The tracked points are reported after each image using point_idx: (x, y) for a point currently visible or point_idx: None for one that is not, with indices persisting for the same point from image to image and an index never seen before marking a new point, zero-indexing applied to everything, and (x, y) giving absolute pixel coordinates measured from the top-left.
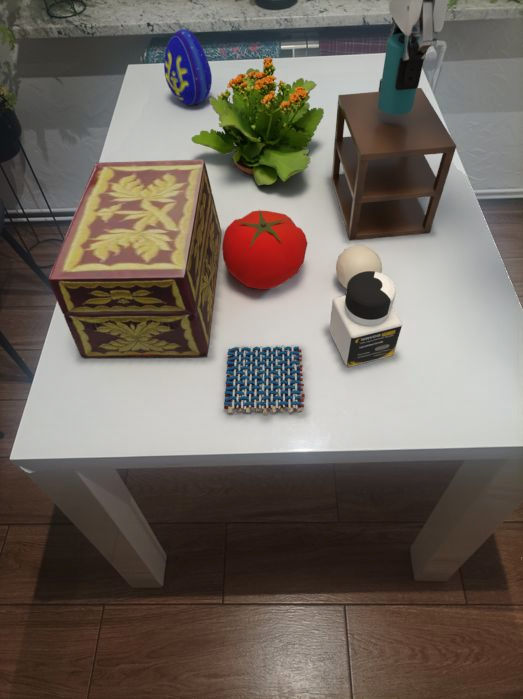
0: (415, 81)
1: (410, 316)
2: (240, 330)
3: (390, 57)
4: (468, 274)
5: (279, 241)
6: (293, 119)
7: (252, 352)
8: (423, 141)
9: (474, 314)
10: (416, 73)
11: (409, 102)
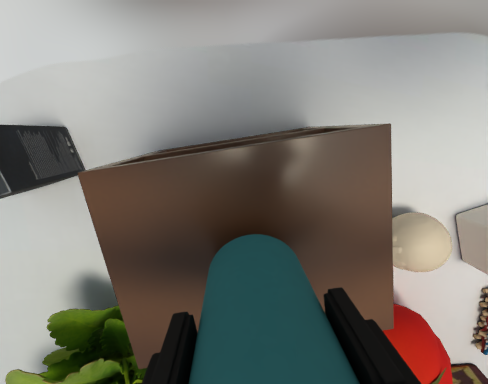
0: (375, 322)
1: (456, 172)
2: (445, 340)
3: None
4: (397, 85)
5: (441, 368)
6: (110, 366)
7: None
8: (360, 200)
9: (466, 92)
10: (395, 350)
11: (299, 264)
